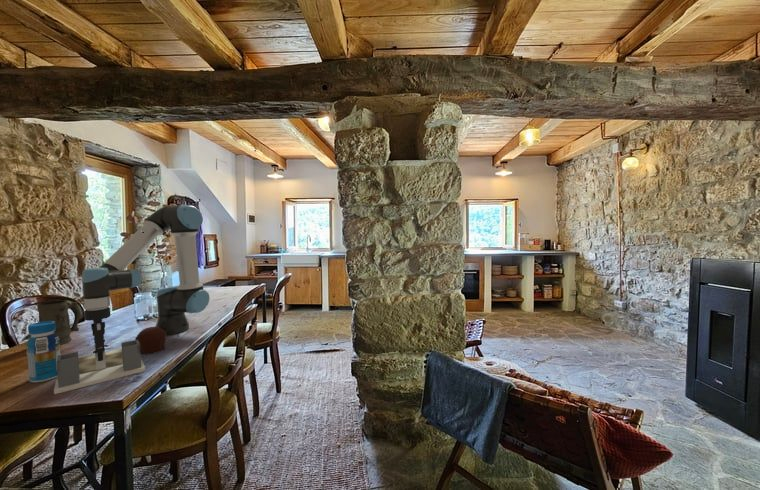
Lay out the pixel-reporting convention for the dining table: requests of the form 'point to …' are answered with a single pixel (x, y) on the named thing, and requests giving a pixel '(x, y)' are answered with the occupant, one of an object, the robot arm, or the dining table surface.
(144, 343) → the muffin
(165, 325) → the robot arm
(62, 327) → the beer stein
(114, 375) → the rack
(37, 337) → the beverage bottle
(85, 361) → the rail
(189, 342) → the dining table surface
